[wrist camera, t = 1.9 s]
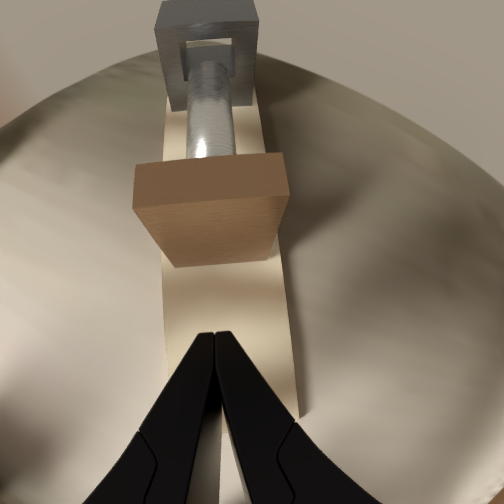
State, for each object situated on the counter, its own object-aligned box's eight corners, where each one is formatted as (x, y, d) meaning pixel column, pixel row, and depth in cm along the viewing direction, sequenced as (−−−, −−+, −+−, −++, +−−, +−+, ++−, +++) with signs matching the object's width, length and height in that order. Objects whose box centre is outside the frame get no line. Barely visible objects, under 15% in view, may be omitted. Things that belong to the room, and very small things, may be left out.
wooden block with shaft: (267, 260, 20) (290, 195, 11) (174, 267, 20) (132, 208, 11) (248, 118, 24) (255, 28, 15) (175, 124, 23) (157, 36, 15)
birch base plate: (296, 420, 18) (299, 424, 17) (178, 431, 18) (176, 434, 17) (250, 75, 27) (251, 68, 26) (171, 82, 27) (170, 74, 26)
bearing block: (252, 105, 25) (259, 20, 16) (171, 112, 24) (154, 29, 16) (246, 71, 26) (251, -6, 18) (174, 77, 26) (162, 1, 17)
